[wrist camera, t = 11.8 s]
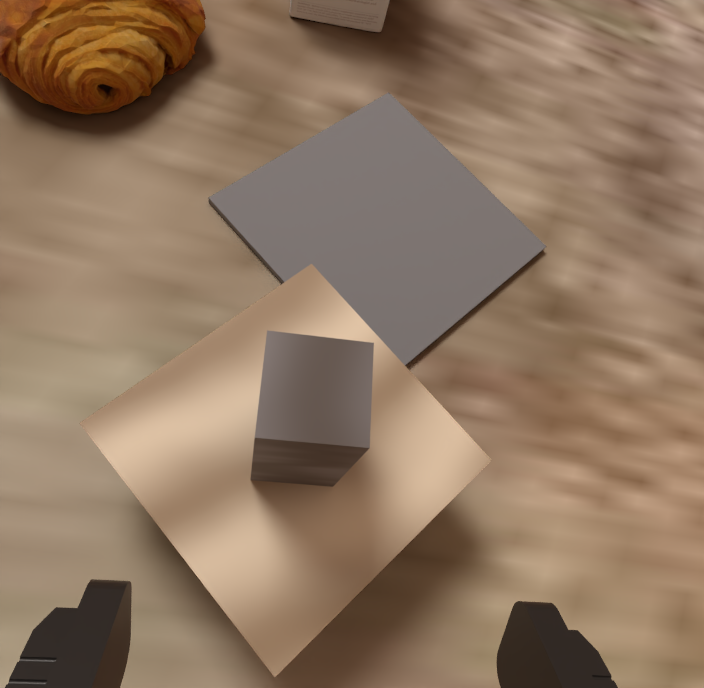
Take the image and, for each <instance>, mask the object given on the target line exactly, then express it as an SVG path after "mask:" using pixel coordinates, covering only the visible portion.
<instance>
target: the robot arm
mask: <svg viewBox="0 0 704 688" xmlns="http://www.w3.org/2000/svg"><path fill="white" fill-rule="evenodd" d="M131 590H132V589H131V582H130V581H114V580H93V579H92V580H91V581H90V582H89V583H88V585H87V587H86V590H85V592H84V595H83V597H82V599H81V602H80V604H79V606H78V608H58V607H56V608H55V609H54V610H53V611H52V612H51V613H50V614H49V615H48V616H47V617H46V618H45V619H44V620H43V621H42V622H41V623H40V624H39V625H38V626H37V627H36V628H35V629H34V630H33V631H32V634H31V636H30V638H29V640H28V642H27V644H26V646H25V648H24V650H23V652H22V654H21V656H20V661H19V662H17V664H16V666H15V668H14V670H13V672H12V675H11V677H10V679H9V683H8V685H6V687H5V688H120V686H121V682H122V679H123V675H124V672H125V668H126V664H127V659H128V653H129V647H130V637H131ZM497 674H498V679H499V683H500V686H501V688H618V687H617V685H616V683H615V682H614V681H612V679H611V674H610V673H609V671H608V669H607V667H606V665H605V663H604V662H603V660H602V658H601V656H600V654H599V652H598V651H597V650H596V649H595V648H594V647H593V646H592V645H591V644H590V643H589V642H588V641H587V640H586V639H585V638H584V637H583V635H582V634H581V633H580V632H579V631H578V630H568V628H567V627H566V625H565V623H564V621H563V619H562V617H561V615H560V613H559V611H558V609H557V608H556V606H555V605H554V604H552V603H543V602H522V601H518V602H516V603H515V604H514V606H513V608H512V611H511V614H510V617H509V620H508V623H507V626H506V629H505V632H504V635H503V638H502V641H501V644H500V647H499V650H498V654H497Z"/></svg>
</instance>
